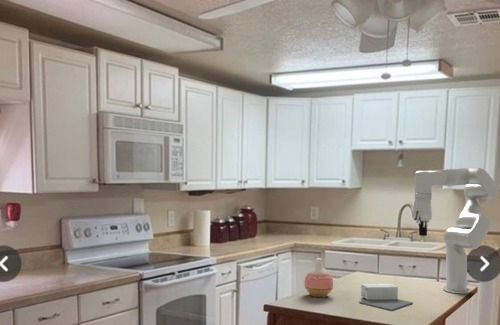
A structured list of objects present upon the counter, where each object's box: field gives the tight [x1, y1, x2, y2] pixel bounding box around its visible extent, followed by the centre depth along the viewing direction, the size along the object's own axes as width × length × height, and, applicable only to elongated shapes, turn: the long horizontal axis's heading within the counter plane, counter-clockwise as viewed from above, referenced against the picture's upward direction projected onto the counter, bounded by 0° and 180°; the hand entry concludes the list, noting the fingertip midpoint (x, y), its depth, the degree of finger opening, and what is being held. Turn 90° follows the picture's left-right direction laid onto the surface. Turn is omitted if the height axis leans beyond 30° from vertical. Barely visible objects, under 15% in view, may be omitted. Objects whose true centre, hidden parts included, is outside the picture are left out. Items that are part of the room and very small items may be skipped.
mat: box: [359, 298, 414, 312], centre depth 210 cm, size 18×16×1 cm
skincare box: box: [360, 283, 399, 300], centre depth 218 cm, size 8×6×15 cm
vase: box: [303, 257, 334, 298], centre depth 222 cm, size 14×14×18 cm
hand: (423, 235), depth 223 cm, fingers closed
